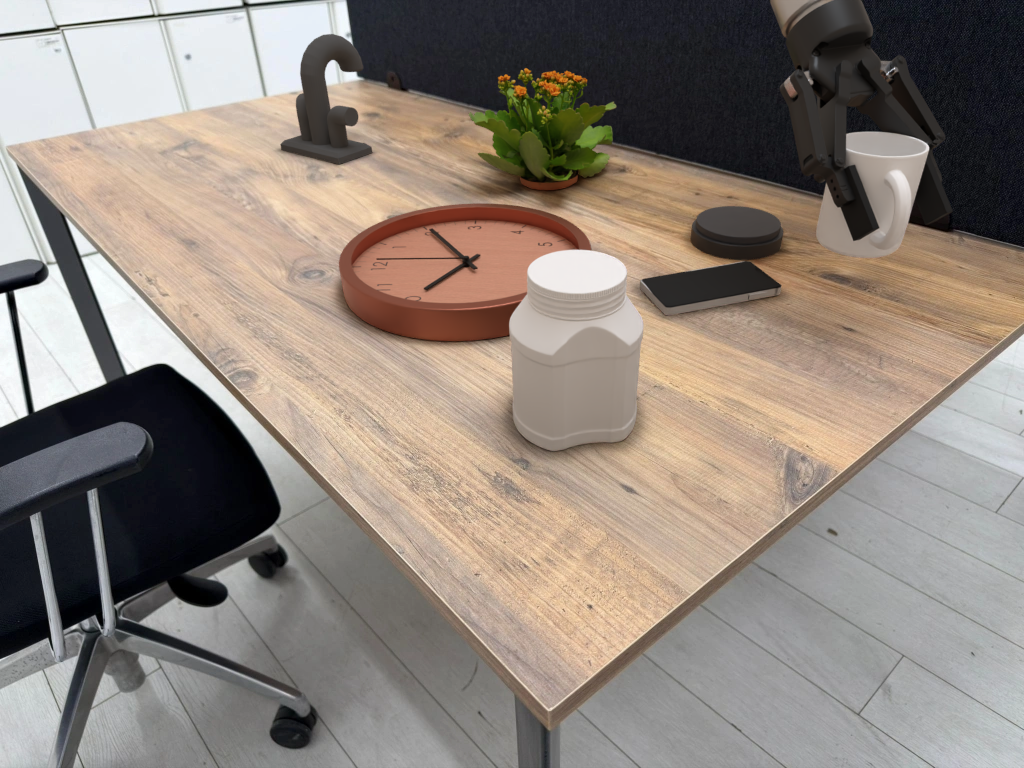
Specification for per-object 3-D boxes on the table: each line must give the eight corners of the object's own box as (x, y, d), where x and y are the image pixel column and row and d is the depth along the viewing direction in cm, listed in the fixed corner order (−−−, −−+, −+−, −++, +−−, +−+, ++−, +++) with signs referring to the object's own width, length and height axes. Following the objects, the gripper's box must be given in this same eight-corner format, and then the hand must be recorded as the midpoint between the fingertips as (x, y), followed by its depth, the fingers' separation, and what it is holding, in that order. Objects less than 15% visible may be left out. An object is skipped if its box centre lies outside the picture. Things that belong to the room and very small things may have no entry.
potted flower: (624, 208, 110) (630, 87, 100) (469, 212, 111) (461, 92, 101) (609, 157, 131) (614, 53, 121) (479, 161, 132) (473, 57, 122)
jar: (617, 379, 72) (625, 239, 64) (649, 437, 65) (664, 288, 56) (504, 394, 71) (498, 253, 62) (524, 456, 63) (519, 305, 55)
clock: (599, 307, 76) (308, 311, 78) (598, 340, 79) (315, 343, 80) (585, 200, 102) (366, 205, 104) (584, 227, 104) (370, 231, 106)
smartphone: (638, 278, 88) (748, 259, 91) (637, 287, 89) (747, 268, 92) (667, 308, 82) (784, 287, 85) (666, 317, 83) (782, 296, 85)
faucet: (402, 143, 142) (389, 32, 131) (341, 165, 132) (320, 46, 121) (341, 130, 152) (324, 25, 140) (280, 149, 142) (256, 38, 130)
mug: (931, 276, 69) (966, 168, 63) (842, 278, 69) (869, 171, 63) (881, 226, 78) (907, 129, 73) (803, 228, 79) (823, 132, 73)
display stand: (772, 225, 103) (776, 205, 101) (788, 261, 93) (793, 239, 91) (687, 224, 104) (689, 204, 103) (694, 259, 95) (696, 238, 93)
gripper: (877, 34, 79) (954, 223, 76) (713, 55, 73) (789, 261, 70) (931, -17, 72) (1018, 190, 69) (754, 2, 66) (840, 229, 63)
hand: (903, 226), depth 69 cm, fingers closed on mug, 8 cm apart
